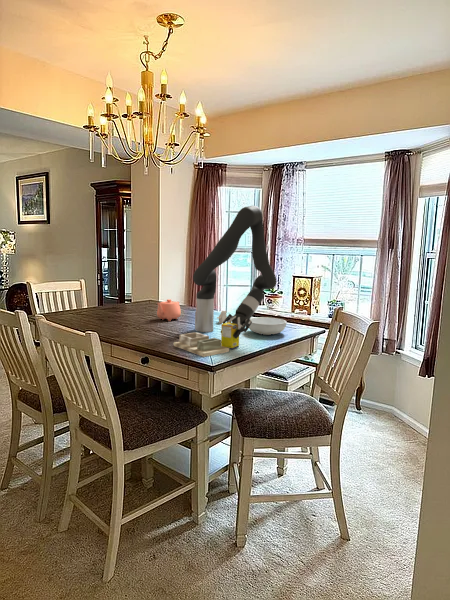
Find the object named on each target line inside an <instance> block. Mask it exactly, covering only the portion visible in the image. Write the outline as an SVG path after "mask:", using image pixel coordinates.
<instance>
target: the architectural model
mask: <svg viewBox="0 0 450 600" xmlns="http://www.w3.org/2000/svg"><path fill="white" fill-rule="evenodd" d="M227 312H228V311H227V310H221V312H220V314H219V315H218V317H216V319H218V324H219V323H220V324H221V325H222V323H223V321H224V320H225V319H226V318H227V316H228V315H227ZM220 324H219V325H220Z"/></svg>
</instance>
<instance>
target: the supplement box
mask: <svg viewBox="0 0 450 600" xmlns="http://www.w3.org/2000/svg"><path fill="white" fill-rule="evenodd" d="M237 329H238V324H235V323H232V322H231V323H230V322H228V323H227V322H226V323H224V324H221V329H220V334H221V336H220V337H221V339H220V340H221V346H224V347H227V348H229V350H231V351H232V350H235V349H238V348H239V347H240V336H239V337H238V338H237V339H235V338H234V337H233V335H234V333H235V332H236V330H237Z"/></svg>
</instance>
